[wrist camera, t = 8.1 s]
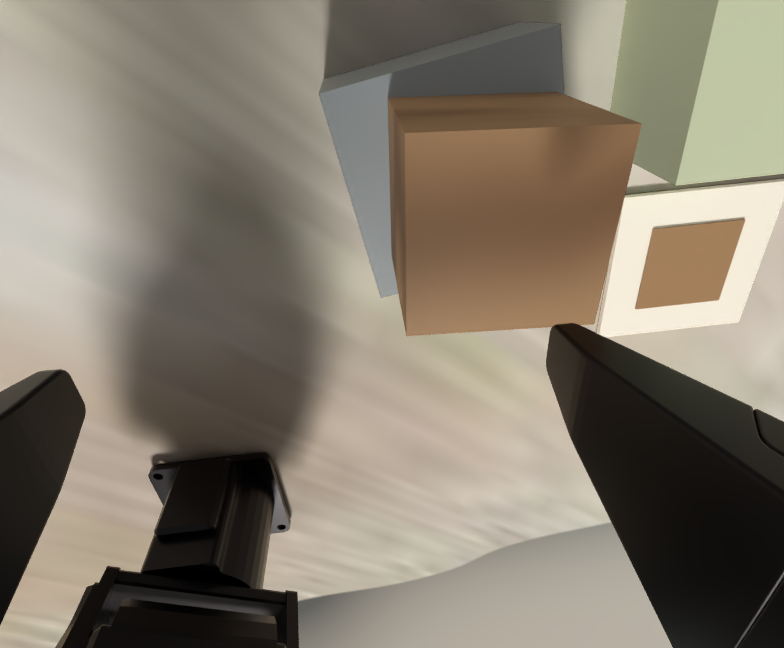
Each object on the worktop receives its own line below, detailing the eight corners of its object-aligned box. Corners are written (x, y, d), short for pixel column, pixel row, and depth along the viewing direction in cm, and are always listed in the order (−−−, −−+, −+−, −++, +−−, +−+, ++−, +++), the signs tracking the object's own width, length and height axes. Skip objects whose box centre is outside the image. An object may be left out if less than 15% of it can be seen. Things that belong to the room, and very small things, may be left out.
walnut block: (533, 248, 17) (593, 324, 13) (391, 255, 17) (406, 335, 13) (556, 91, 14) (642, 123, 10) (387, 97, 14) (405, 133, 10)
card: (734, 319, 24) (740, 323, 24) (595, 334, 24) (599, 338, 24) (785, 178, 20) (792, 181, 20) (620, 195, 20) (625, 198, 20)
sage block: (727, 134, 19) (833, 168, 15) (603, 148, 19) (675, 185, 15) (769, -19, 17) (912, -30, 12) (625, -4, 17) (720, -10, 12)
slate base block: (534, 210, 21) (571, 249, 17) (375, 252, 21) (380, 298, 18) (517, 21, 17) (560, 23, 13) (324, 78, 17) (319, 93, 14)
